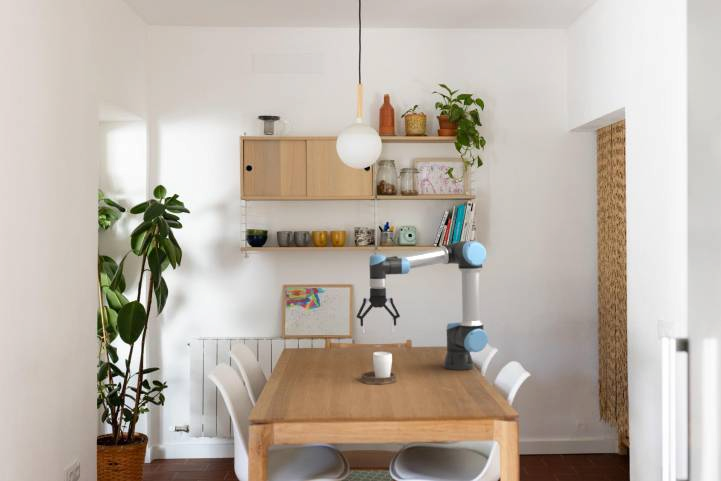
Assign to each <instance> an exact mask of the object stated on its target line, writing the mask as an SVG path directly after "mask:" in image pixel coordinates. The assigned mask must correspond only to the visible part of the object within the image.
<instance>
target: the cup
mask: <svg viewBox="0 0 721 481" xmlns="http://www.w3.org/2000/svg"><path fill="white" fill-rule="evenodd" d="M392 363H393V354H392V352H390V351H375V352H373V354H372V365H373V370H374V371H375V378H385V377H390V373H391V372H392Z"/></svg>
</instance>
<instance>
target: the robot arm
mask: <svg viewBox="0 0 721 481" xmlns="http://www.w3.org/2000/svg"><path fill="white" fill-rule="evenodd" d="M486 259H487V250H486V248H485V247H484V245H483V244H482V243H480V242H479V241H472V240H470V241H469V240H468V241H467V240H466V241H465V240H461V241H456V242H452V243H449V244H448V243H447V244H445V245H441V246H439V247H438V248H432V249H427V250H423V251H418V252H417V251H415V252H410V253H405V254H399V255H394V256H393V255H392V256H388V257H387V256H386V255H385V254H371V255H370V256H369V263H368V264H369V298H366V297H363V300H362V304H361V306H360V308H359V310H358V311H357V314H356V318H357V319H359V320H360V326H361V327H362V334H364V335H365V334H366V333H365V332H366V331H365V327H366V326H365V325H366V324H365V317H366V315H367V314H369V312H371V310H372V309H373V308H374V309H376V308H378V309H379V308H380V309H381V308H384V309H385V310H386V311H387V312H388V313H389V315H390V316H391V317H392V318H391V333H392V334H395V326H397V320H398V319H399V318H401V315H400V313H399V311H398V310H397V307H396V305H395V303H394V299H393V297H387V288H386V287H387V275H407V274H409V273H410V270H412V269H416V268H420V267H421V268H422V267H426V266H432V265H438V264H443V265H449V264H457V266H458V270H459V271H460V272H461V304H462V308H461V309H462V310H461V311H462V321H461V322H450V323H447V325H446V354H445V356H444V357H445V359H444V360H443V368H444V369H446V370H447V369H448V370H451V371H467V370H472V369H474V361H473V359H472V355H471V353H479V352H481V351H483V350H484V349H485V348H486V347H487V344H488V340H489V338H488V334H487V332H486V331H485V330H484V323H483V322H482V320H481V303H480V302H481V298H480V297H481V296H480V295H481V294H480V292H481V291H480V271H482V269H483V263H485V261H486ZM368 302H369V304H370V305H369V306H368V307H367V308H366V309H365V311H364V308H365V307H366V304H367V303H368ZM387 302H388V303H389V304H390V305H391V307H392V310H393V311H394V312H393V311H392V310H391V309H390V308H389V307H388V306H387V305H386V303H387ZM363 311H364V312H363ZM362 312H363V313H362ZM394 313H395V314H394Z"/></svg>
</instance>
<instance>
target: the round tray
mask: <svg viewBox="0 0 721 481" xmlns="http://www.w3.org/2000/svg"><path fill="white" fill-rule="evenodd" d="M397 381H398V379H397V374H396V373H394V372H392V371H391V373H390V377H385V378H375V371H373V370H372V371H371V370H370V371H365V372H363V373H361V378H360V382H361V383H362V384H366V385H377V386H378V385H379V386H381V385H383V386H384V385H391V384H395V383H397Z"/></svg>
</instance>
